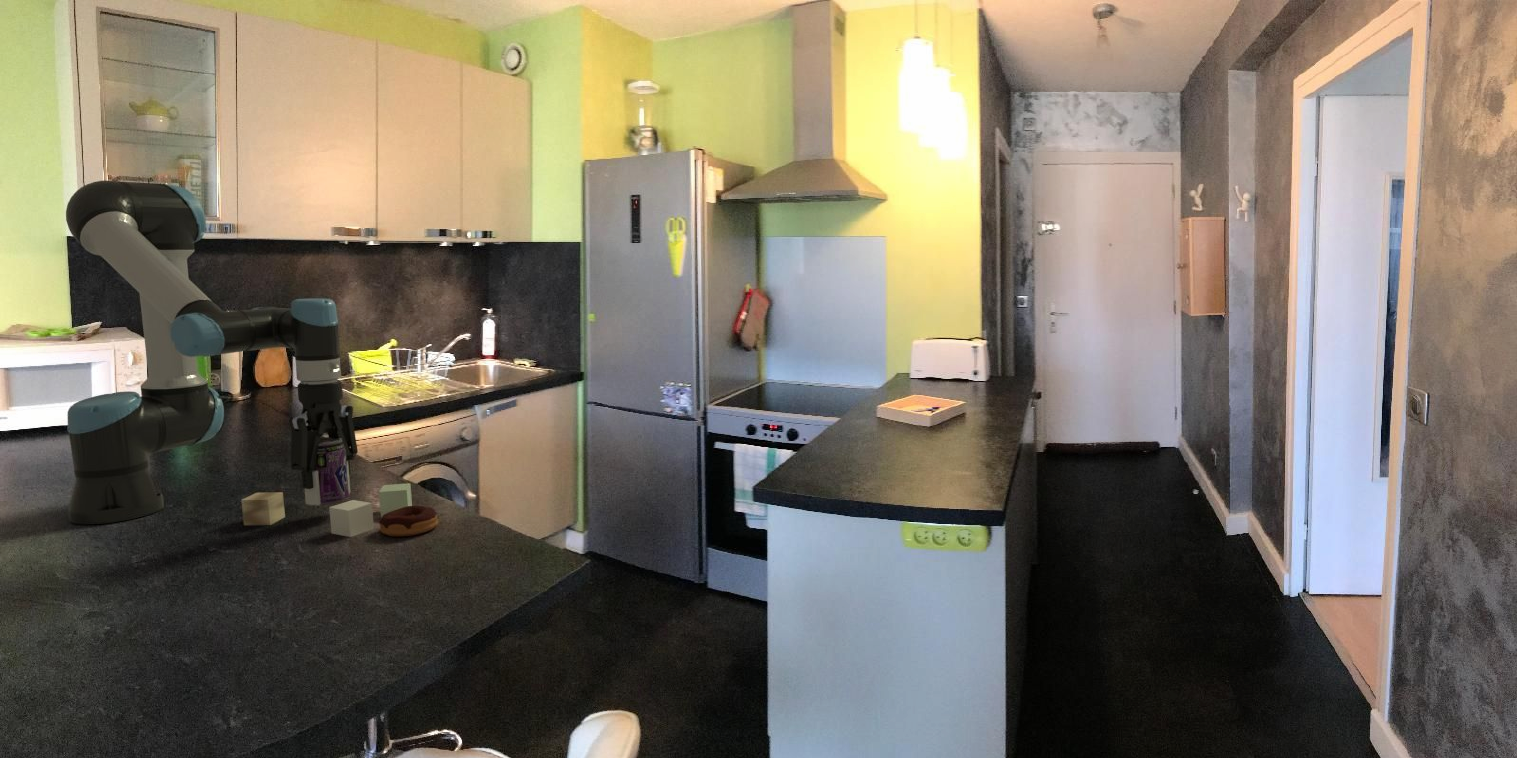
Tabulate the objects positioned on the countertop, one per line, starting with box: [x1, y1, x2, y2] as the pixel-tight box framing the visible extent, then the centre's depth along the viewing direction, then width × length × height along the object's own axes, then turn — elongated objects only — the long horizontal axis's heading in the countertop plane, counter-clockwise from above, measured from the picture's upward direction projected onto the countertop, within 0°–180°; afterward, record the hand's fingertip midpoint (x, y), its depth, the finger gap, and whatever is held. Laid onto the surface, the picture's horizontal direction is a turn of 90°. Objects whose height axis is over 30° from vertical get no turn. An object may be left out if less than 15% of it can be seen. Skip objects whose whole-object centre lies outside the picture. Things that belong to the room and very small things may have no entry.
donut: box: [378, 505, 440, 537], centre depth 157 cm, size 10×10×4 cm
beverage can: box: [307, 436, 350, 506], centre depth 164 cm, size 7×7×12 cm
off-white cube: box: [328, 499, 375, 538], centre depth 157 cm, size 5×5×5 cm
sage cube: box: [378, 483, 413, 518], centre depth 168 cm, size 5×5×5 cm
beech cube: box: [241, 491, 286, 526], centre depth 164 cm, size 5×5×5 cm
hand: (328, 498), depth 165 cm, fingers closed on beverage can, 7 cm apart
